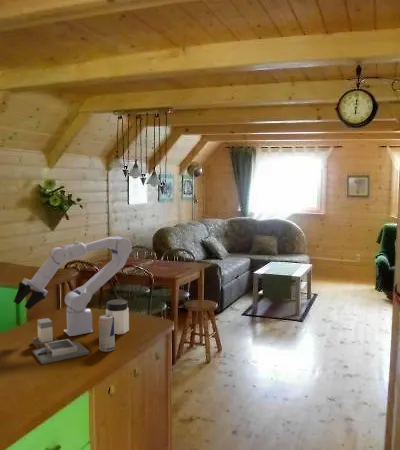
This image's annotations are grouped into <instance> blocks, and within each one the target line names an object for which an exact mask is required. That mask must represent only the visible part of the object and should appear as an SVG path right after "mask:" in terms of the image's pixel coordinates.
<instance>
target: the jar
mask: <svg viewBox="0 0 400 450" xmlns="http://www.w3.org/2000/svg"><path fill="white" fill-rule="evenodd" d="M128 303H129V302H128V300H126V299H120V298H119V299H111V300H108V301H107V302H106V309H105V315H106V314H110V315H113V317H114V336H115V334H117V335H125V334H126V333H127V332H129V331H130V314H129V313H130V309H129V307H128Z"/></svg>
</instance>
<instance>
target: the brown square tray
mask: <svg viewBox="0 0 400 450" xmlns="http://www.w3.org/2000/svg"><path fill="white" fill-rule="evenodd" d="M31 341H32V345H33V346H34V347H35V349H41V348H44V343H50V342H55V341H59V339H58V338H57V337H55V335H53V341H49V342H44V343H39V342H38V336H35V337H32V340H31Z"/></svg>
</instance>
